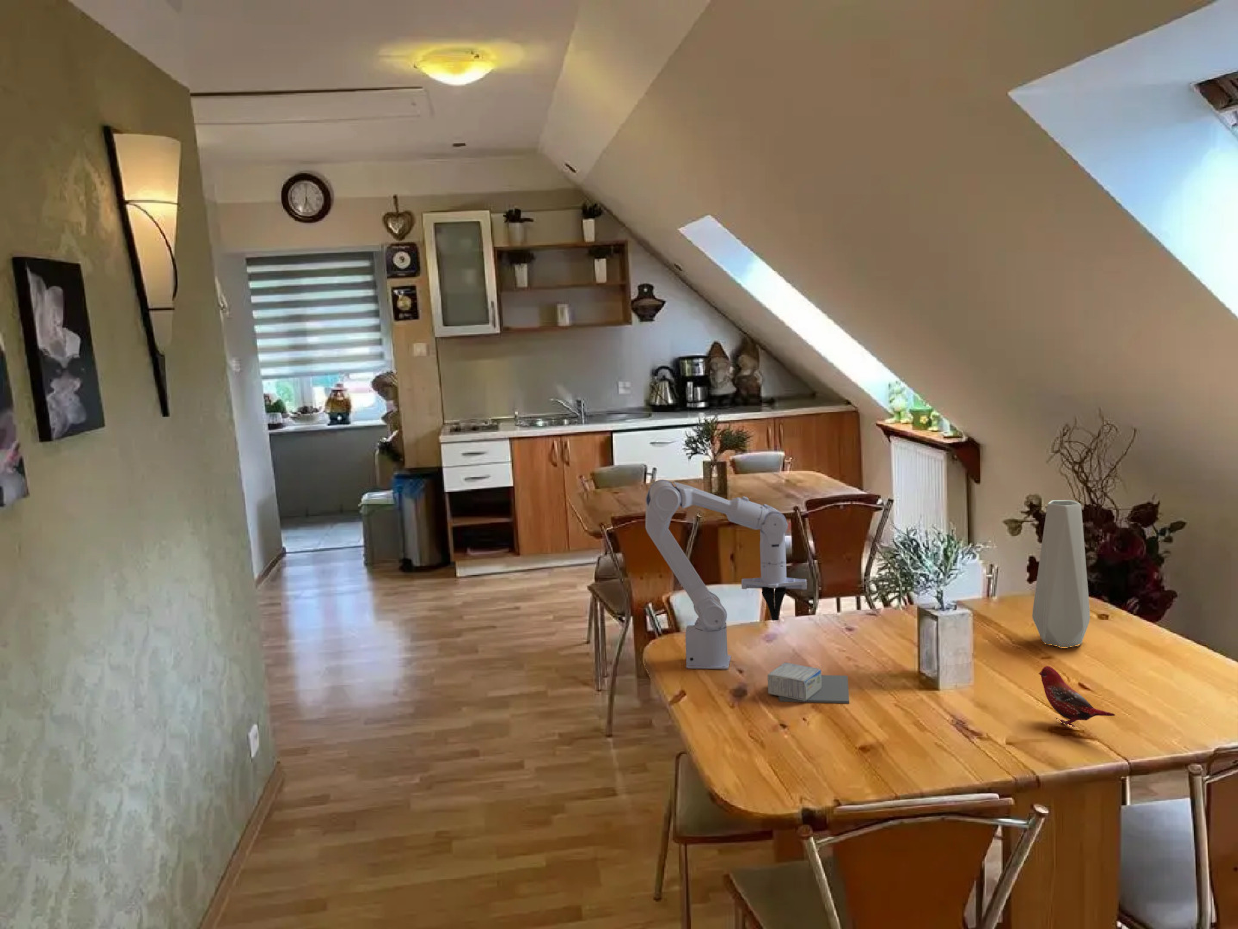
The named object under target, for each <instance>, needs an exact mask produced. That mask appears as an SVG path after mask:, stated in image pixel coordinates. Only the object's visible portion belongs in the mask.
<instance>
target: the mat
mask: <svg viewBox="0 0 1238 929" xmlns="http://www.w3.org/2000/svg"><path fill="white" fill-rule="evenodd" d="M821 681H822V684H821V689H820V690H819V691H817V692H816V693H815V694H813V695H812V696H811V697H810V698H808V699H807V700H806V701H803V700H798V699H793V698H788V697H783V696H778V702H791V703H818V704H819V703H820V704H821V703H822V704H823V703H825V704H850V694H849V693H850V692H849V679H848V675H834V674H833V675H831V674H830V675H829V674H828V675H827V674H821Z"/></svg>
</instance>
